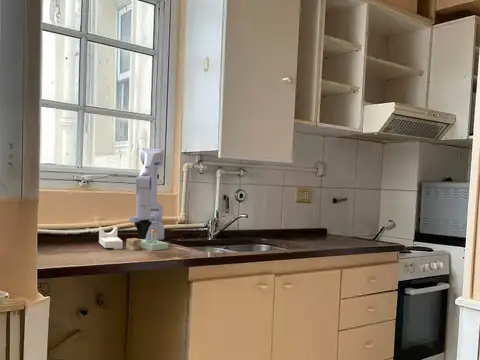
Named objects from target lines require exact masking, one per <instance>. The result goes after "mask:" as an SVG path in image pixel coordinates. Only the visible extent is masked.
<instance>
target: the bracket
mask: <svg viewBox="0 0 480 360" xmlns="http://www.w3.org/2000/svg"><path fill="white" fill-rule="evenodd" d="M118 229H119V228H118V227H117V226H113V229H112V230H111V231H110V232H105V231H104V228H103V227H102V226H99V227H98V231H99V232H98V243H99V244H100V245H101V246H102V247H103V248H104V249H113V250H123V246H124V245H123V243H124V242H123V240H122V239H121V238H120V237H118Z"/></svg>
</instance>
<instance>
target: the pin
mask: <svg viewBox="0 0 480 360" xmlns="http://www.w3.org/2000/svg"><path fill="white" fill-rule="evenodd" d="M156 240H157V230H151V244H156Z"/></svg>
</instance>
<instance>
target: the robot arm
mask: <svg viewBox="0 0 480 360" xmlns="http://www.w3.org/2000/svg"><path fill="white" fill-rule="evenodd" d="M140 149H141V150H140V161H141V164H142V166H141V167H140V171H139V174H138V176H136V177H135V191H136V193H135V194H136V203H135V204H136V205H135V206H136V208H135V210H136V211H135V215H133V216H131V217H129V223H131V224H134V225H135V228H136V230H137V233H138V239H143V240H147V241H151V230H157V240H158V241H161V240H165V225H164V224H163V215H164V214H163V211H164V210H163V205H162V204H161V203H159V202H158V201H157V198H158V173H159V172H158V171H159V168H160V167H163V166H164V156H165V155H164V151H165V150H164V149H163V148H148V147H147V148H146V147H145V148H144V147H142V148H140Z"/></svg>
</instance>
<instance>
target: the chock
mask: <svg viewBox="0 0 480 360" xmlns="http://www.w3.org/2000/svg"><path fill="white" fill-rule="evenodd" d="M125 241H126V243H125V244H126V245H125V248H126V250H130V251H137V250H139V251H140V250H141V249H142V248H141V240H140V239H139V238H135V237H133V238H132V237H131V238H126V239H125Z"/></svg>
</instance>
